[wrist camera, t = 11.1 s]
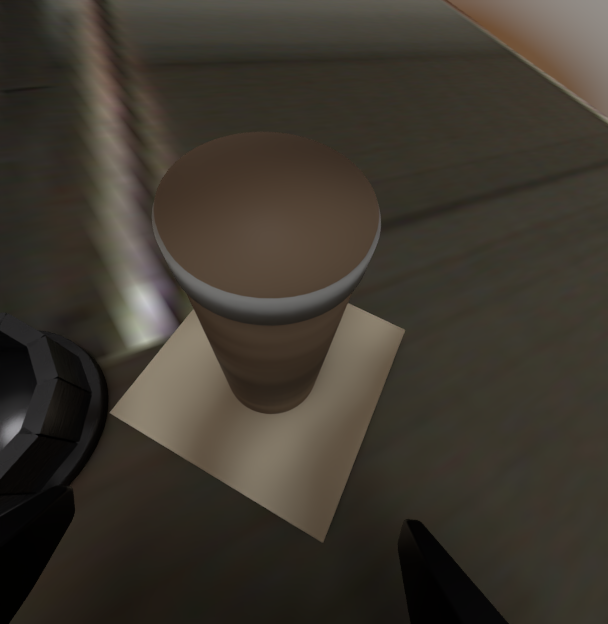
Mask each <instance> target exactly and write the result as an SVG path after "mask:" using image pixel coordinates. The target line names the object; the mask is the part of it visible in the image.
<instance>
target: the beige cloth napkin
mask: <svg viewBox="0 0 608 624" xmlns="http://www.w3.org/2000/svg"><path fill="white" fill-rule="evenodd" d="M404 332H405V330H404V329H402V328H400V327H397V326H395V325H393V324H391V323H389V322H387V321H385V320H383V319H381V318H378V317H376V316H374V315H372V314H370V313H368V312H366V311H364V310H362V309H359V308H357V307H355V306H353V305H351V304H349V303H348V304H347V306H346V309H345V311H344V314H343V316H342V319H341V321H340V323H339V326H338V328H337V331H336V333H335V336H334V338H333V340H332V343H331V345H330V348H329V350H328V353H327V355H326V357H325V360H324V362H323V365H322V367H321V370H320V372H319V374H318V377H317V379H316V382H315V384H314V387H313V389H312V391H311V392H310V394H309V395H308V397H307V398H306V399H305V400H304V401H303V402H302V403H301V404H299V405H298V406H297V407H295V408H293V409H291V410H289V411H287V412H283V413H278V414H264V413H259V412H256V411H253V410H251V409H249V408H247V407H246V406H244V405H243V404H242V403H241V402H240V401H239V400H238V399H237V398H236V397H235V395H234V394H233V392H232V390H231V388H230V386H229V384H228V382H227V379H226V377H225V375H224V373H223V371H222V369H221V367H220V364H219V362H218V360H217V358H216V356H215V354H214V352H213V349H212V347H211V345H210V343H209V341H208V339H207V336H206V334H205V332H204V330H203V328H202V326H201V324H200V321H199V319H198V317H197V315H196V313H195V311H194V309H193V310H192V311H191V313H190V314H189V315H188V316H187V318H186V319H185V320H184V321H183V323H182V324H181V325H180V326H179V327H178V329H177V330H176V331H175V332H174V334H173V335H172V336H171V337H170V339H169V340H168V341H167V342H166V344H165V345H164V346H163V347H162V348H161V350H160V351H159V352H158V353H157V355H156V356H155V357H154V358H153V360H152V361H151V362H150V363H149V365H148V366H147V367H146V368H145V369H144V371H143V372H142V373H141V374H140V376H139V377H138V378H137V379H136V381H135V382H134V383H133V384H132V386H131V387H130V388H129V389H128V390H127V392H126V393H125V394H124V395H123V397H122V398H121V399H120V400H119V402H118V403H117V404H116V405H115V407H114V408H113V409H112V410H111V411H110V413H111V414H112V415H114V416H116V417H117V418H119V419H120V420H122V421H124V422H125V423H127V424H129V425H130V426H132V427H134V428H135V429H137V430H138V431H140V432H142V433H143V434H145V435H147V436H148V437H150V438H152V439H153V440H155V441H156V442H158V443H160V444H161V445H163V446H165V447H166V448H168V449H170V450H171V451H173V452H175V453H176V454H178V455H179V456H181V457H183V458H184V459H186V460H188V461H189V462H191V463H193V464H194V465H196V466H197V467H199V468H201V469H202V470H204V471H206V472H207V473H209V474H211V475H212V476H214V477H216V478H217V479H219V480H220V481H222V482H224V483H225V484H227V485H229V486H230V487H232V488H234V489H235V490H237V491H238V492H240V493H242V494H243V495H245V496H247V497H248V498H250V499H252V500H253V501H255V502H257V503H258V504H260V505H261V506H263V507H265V508H266V509H268V510H270V511H271V512H273V513H275V514H276V515H278V516H279V517H281V518H283V519H284V520H286V521H288V522H289V523H291V524H293V525H294V526H296V527H298V528H299V529H301V530H302V531H304V532H306V533H307V534H309V535H311V536H312V537H314V538H316V539H317V540H319V541H320V542H322V543H323V542H324V539H325V537H326V534H327V531H328V529H329V526H330V524H331V521H332V518H333V516H334V513H335V511H336V508H337V505H338V503H339V500H340V498H341V495H342V492H343V490H344V487H345V485H346V482H347V480H348V477H349V474H350V472H351V469H352V467H353V464H354V461H355V459H356V456H357V454H358V451H359V448H360V446H361V443H362V441H363V438H364V435H365V433H366V430H367V428H368V425H369V422H370V420H371V417H372V415H373V412H374V409H375V407H376V404H377V402H378V399H379V396H380V394H381V391H382V389H383V386H384V383H385V381H386V378H387V376H388V373H389V371H390V368H391V365H392V363H393V360H394V358H395V355H396V352H397V350H398V347H399V345H400V342H401V339H402V337H403V334H404Z"/></svg>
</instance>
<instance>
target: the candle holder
mask: <svg viewBox="0 0 608 624" xmlns="http://www.w3.org/2000/svg"><path fill="white" fill-rule="evenodd" d="M107 409H108V391H107V385H106V381H105V377H104V375H103V373H102V370H101V368H100V367H99V365H98V364H97V362H96V361H95V359H94V358H93V357H92V356H91V355H90V354H89V353H87V352H86V351H85V350H83V349H82V348H80V347H79V346H77V345H76V344H75V343H73V342H72V341H70V340H68V339H66V338H64V337H62V336H60V335H56V334H53V333H50V332H44V331H37V330H36V329H34V328H32V327H31V326H29V325H27V324H25V323H24V322H22V321H20V320H19V319H17V318H15V317H13V316H12V315H10V314H7V313H0V516H2V515H4V514H6V513H7V512H9V511H11V510H13V509H14V508H16V507H18V506H19V505H21V504H23V503H25V502H26V501H28V500H30V499H32V498H33V497H35V496H37V495H39V494H40V493H42V492H44V491H46V490H47V489H49V488H51V487H53V486H56V485H60V486H68V485H69V484H70V483H71V482H72V481H73V480H74V478H75V477H76V476H77V475H78V474H79V473H80V471H81V470H82V468H83V467H84V465H85V464H86V463H87V461H88V460H89V458H90V456H91V454H92V453H93V451H94V449H95V447H96V445H97V443H98V441H99V438H100V436H101V434H102V431H103V427H104V424H105V421H106V415H107Z"/></svg>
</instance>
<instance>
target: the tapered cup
mask: <svg viewBox="0 0 608 624" xmlns="http://www.w3.org/2000/svg"><path fill="white" fill-rule="evenodd" d="M152 225H153V231H154V234H155V238H156V241H157V243H158V245H159V247H160V249H161V251H162V253H163V255H164V257H165V259H166V261H167V263H168V265H169V268H170V270H171V272H172V273H173V275H174V277H175V279H176V281H177V282H178V284H179V285H180V286H181V288H182V289H183V290H184V291H185V292H186V293H187V296H188V298H189V300H190V302H191V304H192V306H193V309H194V311H195V313H196V315H197V317H198V319H199V321H200V324H201V326H202V328H203V330H204V332H205V334H206V336H207V339H208V341H209V343H210V345H211V347H212V349H213V352H214V354H215V356H216V358H217V360H218V362H219V364H220V367H221V369H222V371H223V373H224V375H225V377H226V379H227V382H228V384H229V386H230V388H231V390H232V392H233V394H234V395H235V397H236V398H237V399H238V400H239V401H240V402H241V403H242V404H243V405H244V406H246V407H247V408H249V409H251V410H253V411H256V412H259V413H264V414H278V413H283V412H287V411H289V410H291V409H293V408H295V407H297V406H298V405H299V404H301V403H302V402H303V401H304V400H305V399H306V398H307V397H308V395H309V394H310V392H311V391H312V389H313V387H314V384H315V382H316V379H317V377H318V374H319V372H320V370H321V367H322V365H323V362H324V360H325V357H326V355H327V353H328V350H329V348H330V345H331V343H332V340H333V338H334V336H335V333H336V331H337V328H338V326H339V323H340V321H341V319H342V316H343V314H344V311H345V309H346V306H347V304H348V302H349V299H350V297H351V294H352V292H353V291H354V289H355V288H356V287H357V286H358V284H359V283H360V281H361V279H362V277H363V275H364V273H365V271H366V269H367V266H368V264H369V262H370V259H371V257H372V255H373V253H374V250H375V248H376V245H377V242H378V239H379V235H380V229H381V215H380V210H379V205H378V202H377V198H376V195H375V192H374V190H373V188H372V186H371V184H370V182H369V181H368V179H367V178H366V177H365V175H364V174H363V173H362V171H361V170H360V169H359V168H358V167H357V166H356V165H355V164H354V163H352V162H351V161H350V160H349V159H347V158H346V157H345V156H343V155H342V154H340V153H339V152H337V151H336V150H334V149H332V148H330V147H328V146H326V145H324V144H321V143H319V142H316V141H314V140H311V139H308V138H304V137H301V136H296V135H292V134H285V133H278V132H248V133H239V134H234V135H229V136H225V137H221V138H218V139H215V140H212V141H209V142H207V143H204V144H202V145H200V146H198V147H196V148H194V149H193V150H191V151H190V152H188V153H187V154H185V155H184V156H183V157H181V158H180V159H179V160H178V161H176V162H175V163H174V164H173V166H172V167H171V168H170V169H169V170H168V171H167V173H166V174H165V175H164V177H163V178H162V180H161V182H160V184H159V186H158V189H157V192H156V196H155V199H154V204H153V209H152Z"/></svg>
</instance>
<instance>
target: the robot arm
mask: <svg viewBox="0 0 608 624" xmlns="http://www.w3.org/2000/svg"><path fill="white" fill-rule="evenodd" d="M74 513H75V505H74V494H73V489H72V488H71V487H70V486H60V485H56V486H53V487H51V488H49V489H47V490H46V491H44V492H42V493H40V494H39V495H37V496H35V497H33V498H32V499H30V500H28V501H26V502H25V503H23V504H21V505H19V506H18V507H16V508H14V509H13V510H11V511H9V512H7V513H6V514H4V515H2V516H0V624H9V623H10V621H11V620H12V618H13V617H14V615H15V614H16V613H17V611H18V610H19V608H20V607H21V605H22V604H23V602H24V601H25V599H26V598H27V596H28V595H29V593H30V592H31V590H32V589H33V587H34V585H35V584H36V582H37V580H38V579H39V577H40V575H41V574H42V572H43V570H44V568H45V567H46V565H47V563H48V561H49V560H50V558H51V556H52V554H53V553H54V551H55V549H56V547H57V546H58V544H59V542H60V541H61V539H62V537H63V535H64V534H65V532H66V530H67V528H68V527H69V525H70V523H71V521H72V519H73V517H74ZM398 553H399V559H400V565H401V571H402V577H403V583H404V589H405V594H406V600H407V606H408V612H409V617H410V622H411V624H509V623H508V622H507V621H506V620H505V619H504V618H503V616H502V615H501V614H500V613H499V612H498V611H497V610H496V608H495V607H494V606H493V605H492V604H491V603H490V601H489V600H488V599H487V598H486V597H485V596H484V594H483V593H482V592H481V591H480V590H479V589H478V587H477V586H476V585H475V584H474V583H473V582H472V581H471V579H470V578H469V577H468V576H467V575H466V574H465V572H464V571H463V570H462V569H461V568H460V567H459V565H458V564H457V563H456V562H455V561H454V560H453V558H452V557H451V556H450V555H449V554H448V553H447V551H446V550H445V549H444V548H443V547H442V546H441V545H440V543H439V542H438V541H437V540H436V539H435V538H434V536H433V535H432V534H431V533H430V532H429V531H428V529H427V528H426V527H425V526H424V525H423V524H422V523H421V522H420V521H418V520H410V519H405V520H404V522H403V525H402V528H401V532H400V536H399V540H398Z"/></svg>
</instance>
